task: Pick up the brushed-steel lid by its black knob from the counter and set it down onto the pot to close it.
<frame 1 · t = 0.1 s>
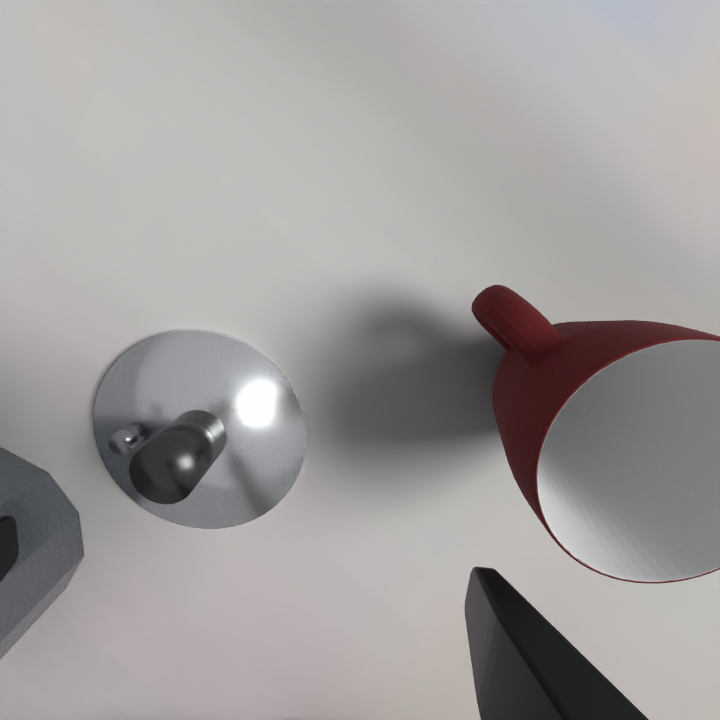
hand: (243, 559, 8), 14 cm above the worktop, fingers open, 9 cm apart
mug: (521, 360, 22), on the worktop
lid: (205, 429, 24), on the worktop
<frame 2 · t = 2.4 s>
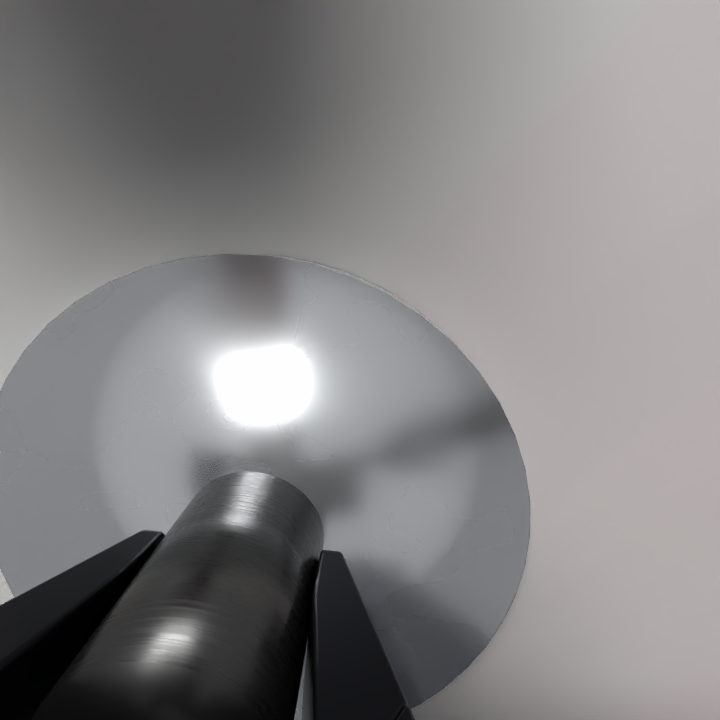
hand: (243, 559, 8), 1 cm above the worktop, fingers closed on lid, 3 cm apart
lid: (263, 513, 10), on the worktop, touching gripper
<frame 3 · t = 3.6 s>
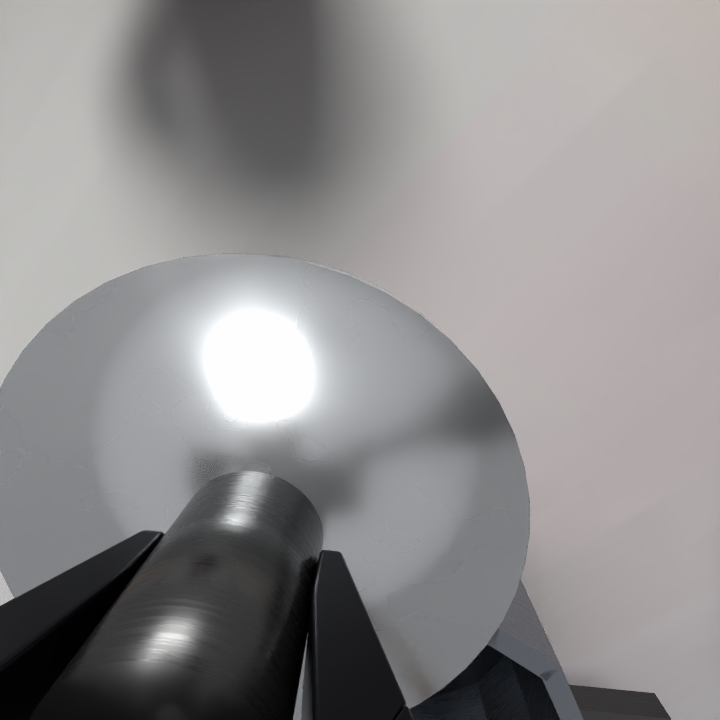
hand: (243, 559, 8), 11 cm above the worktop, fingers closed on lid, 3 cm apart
lid: (262, 512, 10), point 10 cm above the worktop, touching gripper
pot: (420, 611, 22), on the worktop
when the fingers open (8 cm above the worktop, at t = 5.2 s): lid stays where it is, resting on pot.
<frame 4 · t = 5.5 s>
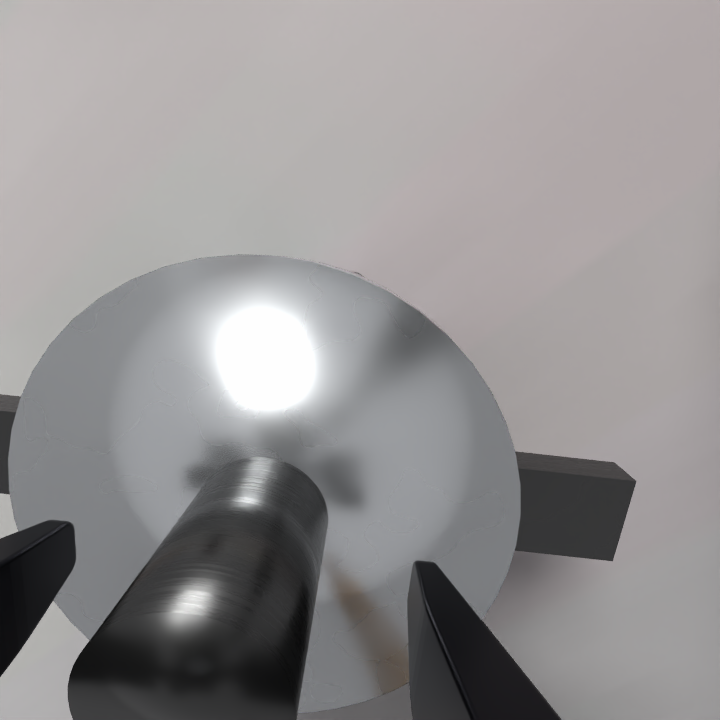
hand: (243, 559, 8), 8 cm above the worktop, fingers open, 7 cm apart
lid: (270, 497, 10), point 6 cm above the worktop, touching pot
pot: (305, 411, 16), on the worktop
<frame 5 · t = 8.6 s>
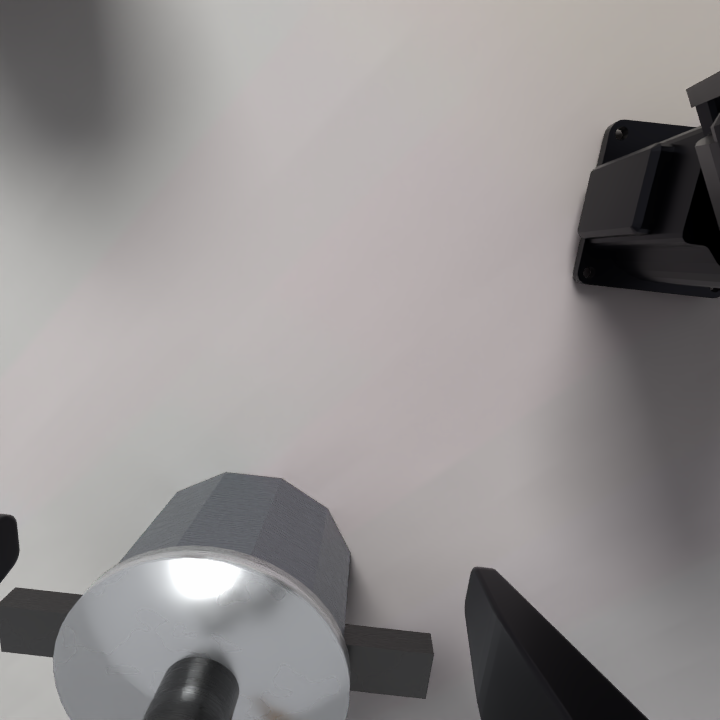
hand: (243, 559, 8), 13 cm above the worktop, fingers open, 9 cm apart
lid: (208, 668, 17), point 6 cm above the worktop, touching pot
pot: (249, 564, 23), on the worktop
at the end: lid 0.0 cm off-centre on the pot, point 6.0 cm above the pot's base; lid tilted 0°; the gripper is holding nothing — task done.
